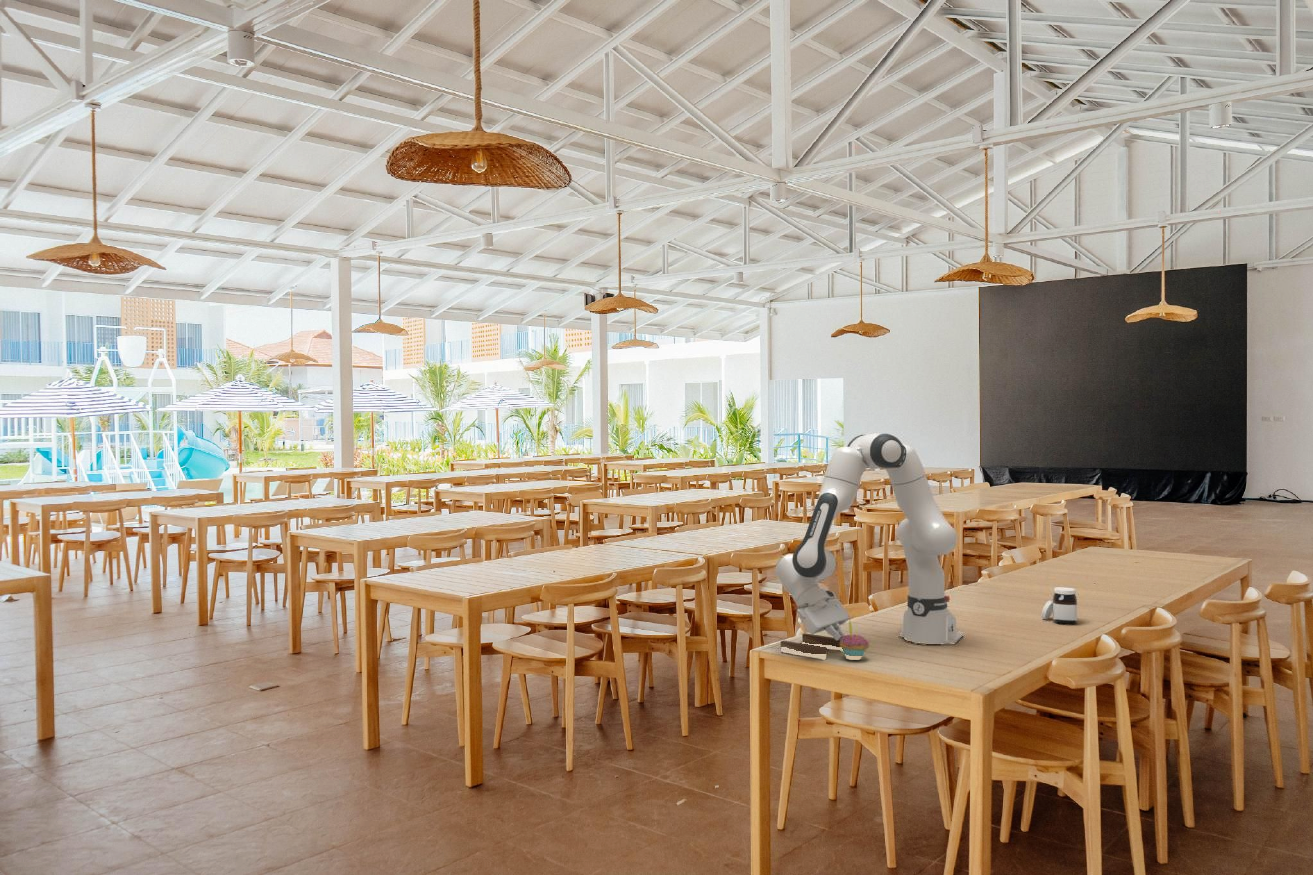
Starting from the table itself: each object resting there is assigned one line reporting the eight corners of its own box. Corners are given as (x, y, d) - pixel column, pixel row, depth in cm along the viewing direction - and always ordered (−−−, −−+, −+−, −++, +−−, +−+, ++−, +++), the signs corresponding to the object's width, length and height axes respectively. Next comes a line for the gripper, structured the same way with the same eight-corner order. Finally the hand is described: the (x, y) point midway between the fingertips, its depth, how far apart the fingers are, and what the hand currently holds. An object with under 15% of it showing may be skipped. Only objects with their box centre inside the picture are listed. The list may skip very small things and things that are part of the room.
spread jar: (1078, 626, 328) (1078, 591, 328) (1042, 624, 332) (1042, 590, 331) (1075, 619, 339) (1075, 586, 339) (1040, 617, 343) (1040, 584, 343)
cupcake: (853, 664, 281) (855, 623, 280) (832, 657, 288) (833, 617, 287) (874, 660, 286) (875, 619, 285) (853, 653, 293) (854, 614, 292)
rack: (804, 644, 306) (804, 633, 306) (847, 651, 296) (847, 639, 296) (780, 652, 295) (780, 641, 295) (824, 660, 285) (824, 648, 285)
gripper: (801, 600, 286) (829, 638, 280) (836, 590, 302) (864, 626, 296) (788, 613, 289) (816, 651, 283) (823, 603, 305) (850, 639, 299)
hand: (841, 638), depth 289 cm, fingers closed, pressing on cupcake
